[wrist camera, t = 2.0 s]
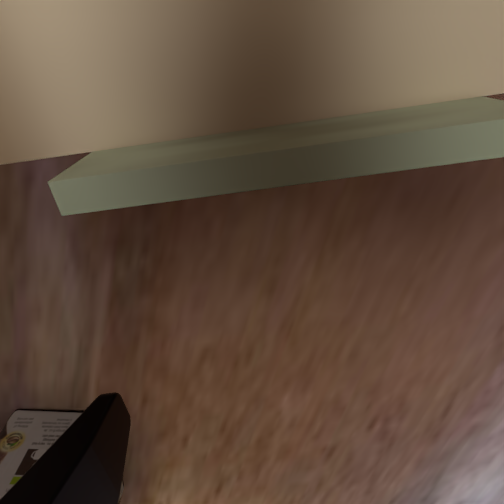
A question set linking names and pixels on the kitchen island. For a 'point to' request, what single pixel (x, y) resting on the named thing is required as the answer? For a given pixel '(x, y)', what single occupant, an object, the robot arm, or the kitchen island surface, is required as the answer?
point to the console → (245, 92)
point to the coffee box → (29, 442)
